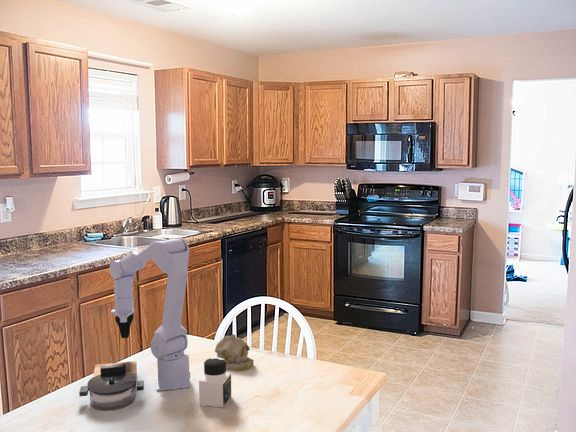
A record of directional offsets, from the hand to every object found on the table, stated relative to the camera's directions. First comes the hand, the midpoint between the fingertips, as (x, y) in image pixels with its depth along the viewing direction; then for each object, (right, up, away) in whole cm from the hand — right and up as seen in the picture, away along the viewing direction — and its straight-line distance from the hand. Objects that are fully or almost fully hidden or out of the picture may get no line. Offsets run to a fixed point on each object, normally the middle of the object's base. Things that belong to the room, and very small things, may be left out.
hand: (125, 337), depth 179 cm
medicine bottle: (+32, -13, -24) cm, 42 cm away
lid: (+4, -8, -24) cm, 26 cm away
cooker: (+2, -12, -19) cm, 22 cm away
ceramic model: (+35, -10, +3) cm, 36 cm away
